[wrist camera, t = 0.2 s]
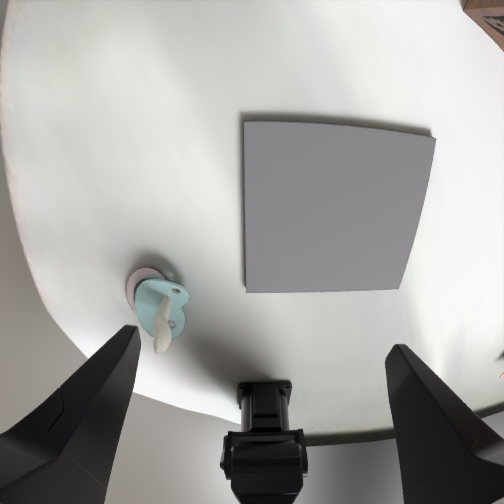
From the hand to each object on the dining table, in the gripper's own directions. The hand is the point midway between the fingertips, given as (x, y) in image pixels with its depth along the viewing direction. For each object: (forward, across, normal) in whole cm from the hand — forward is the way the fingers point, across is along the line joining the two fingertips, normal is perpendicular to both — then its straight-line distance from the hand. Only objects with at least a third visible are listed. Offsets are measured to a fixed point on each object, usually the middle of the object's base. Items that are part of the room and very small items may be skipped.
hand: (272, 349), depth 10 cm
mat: (+14, -6, +1) cm, 15 cm away
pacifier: (+15, +8, +11) cm, 20 cm away
